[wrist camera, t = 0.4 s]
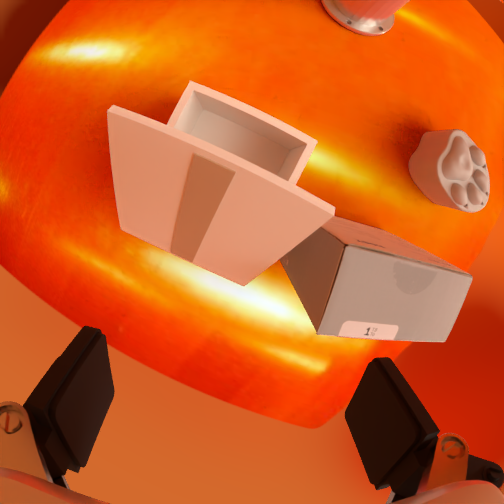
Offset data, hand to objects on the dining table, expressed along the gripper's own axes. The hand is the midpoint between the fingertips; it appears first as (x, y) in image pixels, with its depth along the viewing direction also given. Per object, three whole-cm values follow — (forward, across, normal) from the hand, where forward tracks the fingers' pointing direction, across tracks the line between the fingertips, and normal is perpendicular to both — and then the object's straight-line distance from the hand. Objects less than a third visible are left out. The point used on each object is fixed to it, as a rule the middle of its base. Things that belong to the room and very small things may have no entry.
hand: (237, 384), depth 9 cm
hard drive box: (+31, -14, +1) cm, 34 cm away
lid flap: (+14, +3, -3) cm, 15 cm away
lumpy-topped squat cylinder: (+31, -31, -13) cm, 46 cm away
